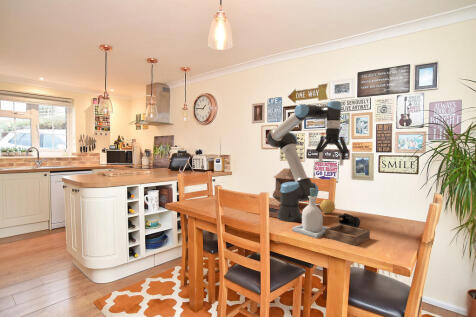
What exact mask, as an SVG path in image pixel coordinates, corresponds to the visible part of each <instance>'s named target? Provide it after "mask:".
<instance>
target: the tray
mask: <svg viewBox="0 0 476 317" xmlns="http://www.w3.org/2000/svg"><path fill="white" fill-rule="evenodd" d="M328 228H329V227H328V226H324V225H323V229H322V231H321V232H309V231H306V230H304V228H303V227H302V224H299V225H295V226H293V227H291V229H292V232H295V233H298V234H302V235H304V236H307V235H308V236H307V237H310V238H315V239H319V238H320V237H325V229H328Z"/></svg>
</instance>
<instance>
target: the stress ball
mask: <svg viewBox="0 0 476 317" xmlns="http://www.w3.org/2000/svg"><path fill="white" fill-rule="evenodd" d="M319 209H320V210H321V212H322V213H324V214H326V215H330V214H331V213H333V212H335V209H336V204H335V203H334V201H333V200H331V199H325V198H324V199H323V200H322V201H320V205H319Z"/></svg>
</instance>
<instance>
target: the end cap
mask: <svg viewBox="0 0 476 317" xmlns="http://www.w3.org/2000/svg"><path fill="white" fill-rule="evenodd" d="M338 218H339V219H338V224H343V225H347V226H351V227H356V228H360V225H361V219H360V218H359V217H357V216H355V215H351V214H349V213H346V212H344V213H343V214H339V215H338Z"/></svg>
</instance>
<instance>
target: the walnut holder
mask: <svg viewBox="0 0 476 317" xmlns="http://www.w3.org/2000/svg"><path fill="white" fill-rule="evenodd" d="M324 238H327V239H331V240H333V241H338V242H340V243H344V244H347V245H350V246H354V247H356V246H358V245H360V244H362V243H364V242H366V241H368V240H370V239H371V230H367V229H363V228H360V227H357V228H356V227H351V226H347V225H343V224H340V223H338V224H336V225H333V226H331V227H328V229H325V235H324Z"/></svg>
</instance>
